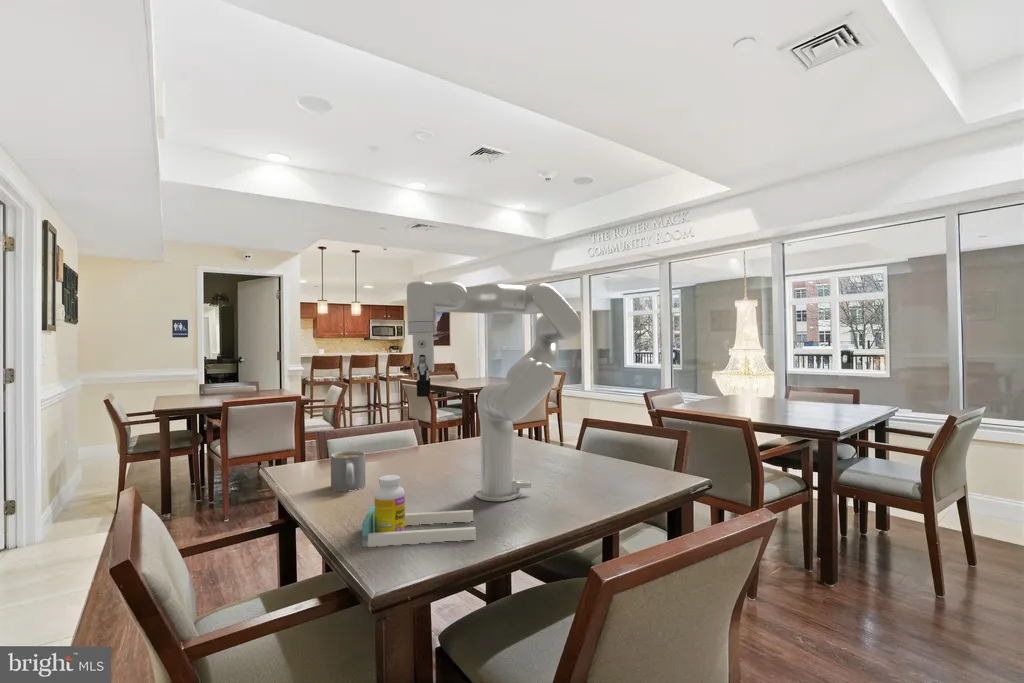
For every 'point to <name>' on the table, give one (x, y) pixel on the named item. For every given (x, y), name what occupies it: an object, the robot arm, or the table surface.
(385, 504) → the supplement bottle
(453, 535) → the guide track
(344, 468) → the coffee mug
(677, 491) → the table surface
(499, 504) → the table surface
